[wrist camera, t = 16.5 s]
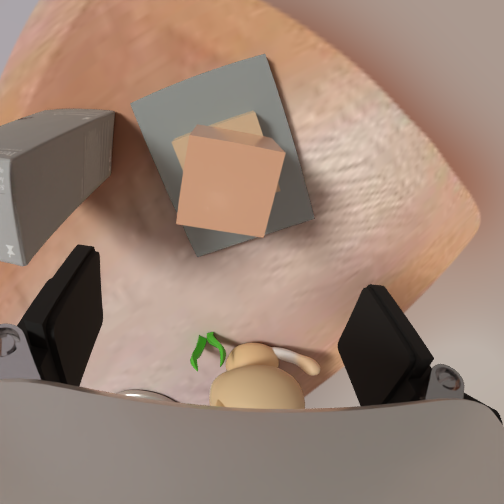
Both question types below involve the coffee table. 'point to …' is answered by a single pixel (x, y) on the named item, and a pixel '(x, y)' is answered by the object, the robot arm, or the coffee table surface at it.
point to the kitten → (256, 376)
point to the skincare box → (49, 174)
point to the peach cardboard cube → (229, 181)
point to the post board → (216, 107)
